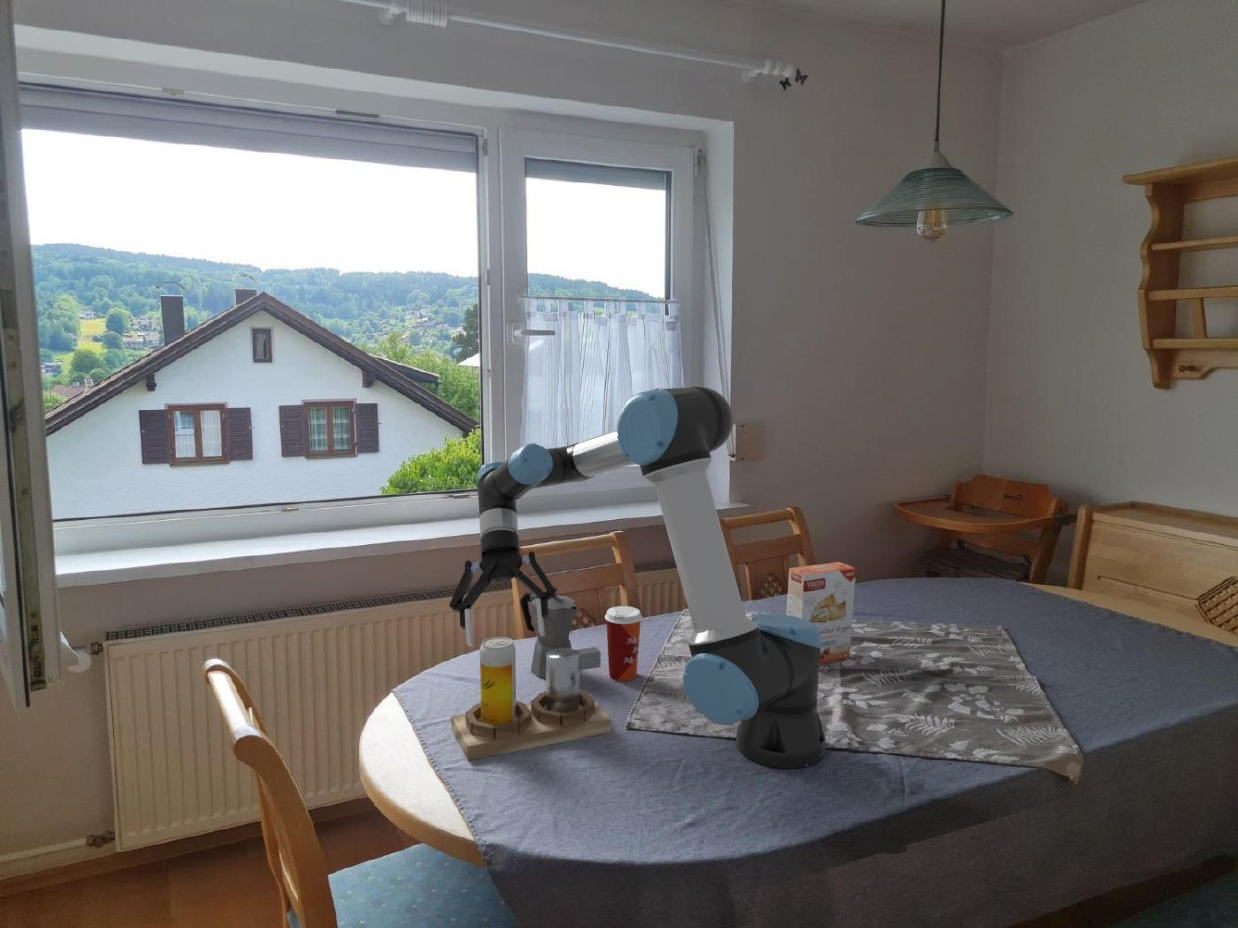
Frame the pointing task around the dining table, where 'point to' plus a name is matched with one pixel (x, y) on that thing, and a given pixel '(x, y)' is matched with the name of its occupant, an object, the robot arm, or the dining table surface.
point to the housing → (528, 727)
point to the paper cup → (623, 642)
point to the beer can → (498, 680)
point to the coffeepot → (549, 627)
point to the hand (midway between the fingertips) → (505, 639)
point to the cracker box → (825, 604)
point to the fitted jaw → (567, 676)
